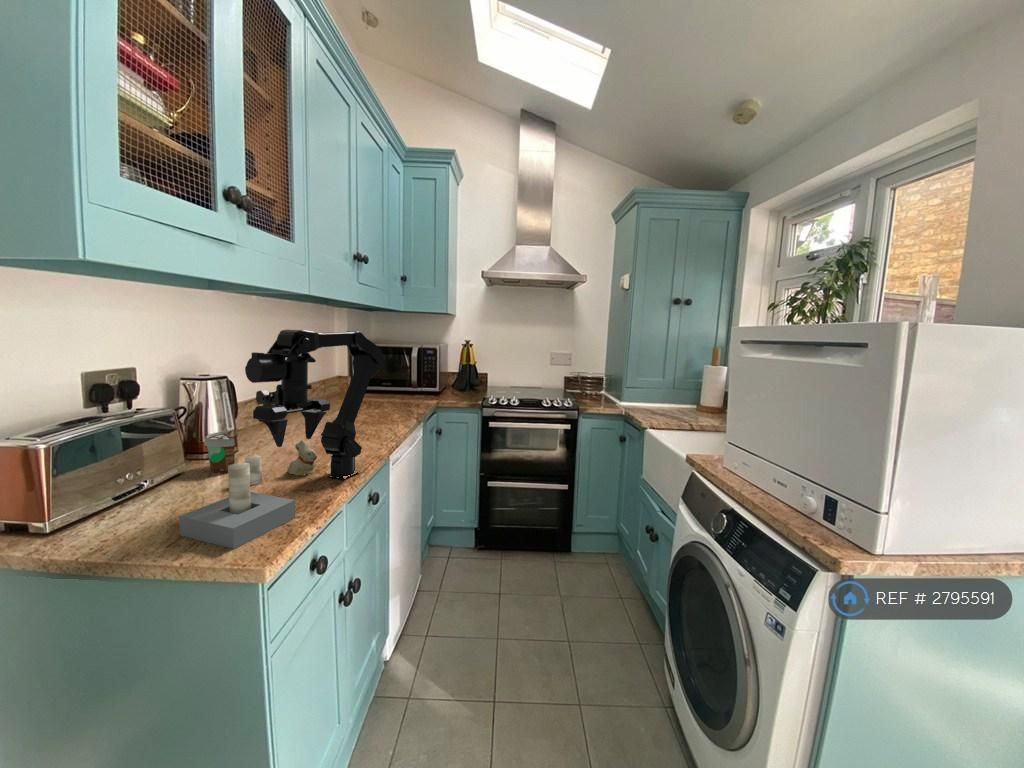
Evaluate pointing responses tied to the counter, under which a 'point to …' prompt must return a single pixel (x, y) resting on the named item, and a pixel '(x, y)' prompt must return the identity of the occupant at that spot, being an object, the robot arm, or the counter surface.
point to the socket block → (236, 520)
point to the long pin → (239, 487)
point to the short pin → (255, 469)
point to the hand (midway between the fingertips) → (294, 442)
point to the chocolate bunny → (303, 460)
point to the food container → (220, 451)
